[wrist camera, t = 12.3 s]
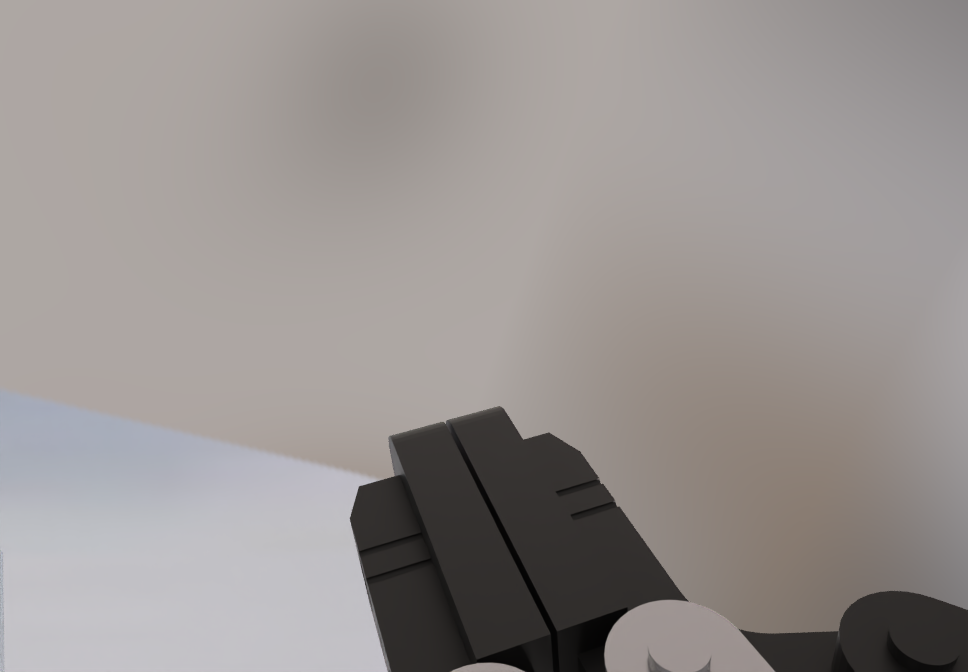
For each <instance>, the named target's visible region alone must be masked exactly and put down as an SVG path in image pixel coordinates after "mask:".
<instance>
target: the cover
mask: <svg viewBox="0 0 968 672" xmlns="http://www.w3.org/2000/svg"><path fill="white" fill-rule="evenodd" d="M0 672H4V616H3V553H2V551H1V549H0Z"/></svg>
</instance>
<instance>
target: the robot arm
mask: <svg viewBox="0 0 968 672" xmlns="http://www.w3.org/2000/svg"><path fill="white" fill-rule="evenodd" d="M389 447H390V453H391V458H392V463H393V469H394V473H395V476H394V477H391V478H387V479H384V480H380V481H377V482H373V483H370V484H366V485H363V486H359V489H358V492H357V496H356V499H355V503H354V506H353V510H352V513H351V517H350V522H351V526H352V530H353V534H354V539H355V543H356V547H357V551H358V556H359V560H360V564H361V568H362V573H363V577H364V581H365V585H366V589H367V594H368V598H369V602H370V606H371V610H372V614H373V617H374V621H375V625H376V629H377V633H378V636H379V640H380V644H381V648H382V651H383V655H384V659H385V663H386V666H387V670H388V672H968V610H966V609H963V608H960V607H957V606H955V605H951V604H949V603H946V602H943V601H940V600H937V599H934V598H931V597H927V596H924V595H921V594H915V593H910V592H901V591H900V592H899V591H887V592H879V593H874V594H870V595H867V596H865V597H863V598H860V599H859V600H857V601H856V602H854V603H853V604H851V606H850V607H849V608H848V609H847V610H846V611H845V613H844V615H843V617H842V619H841V622H840V628H839V631H837V632H808V633H780V634H767V633H766V634H765V633H755V632H748V631H744V630H740V629H737V628H736V627H735V626H734V625H733V624H732V623H731V622H730V621H728V620H727V619H726V618H724V617H723V616H722V615H720V614H719V613H717V612H715V611H713V610H711V609H709V608H707V607H704V606H701V605H699V604H695V603H691V602H689V601H688V600H687V599H686V598H685V597H684V596H683V595H682V593H681V592H680V591H679V589H678V588H677V587H676V585H675V584H674V582H673V581H672V580H671V578H670V577H669V575H668V574H667V573H666V571H665V570H664V568H663V567H662V566H661V564H660V563H659V561H658V560H657V559H656V557H655V556H654V555H653V553H652V552H651V550H650V549H649V547H648V546H647V545H646V543H645V542H644V540H643V539H642V538H641V536H640V535H639V533H638V532H637V531H636V529H635V528H634V526H633V525H632V524H631V522H630V521H629V520H628V518H627V517H626V515H625V514H624V512H623V511H622V510H621V508H620V507H617V506H616V503H615V500H614V498H613V497H612V496H611V494H610V493H609V491H608V490H607V489H606V487H605V486H604V484H601V483H600V480H599V477H598V476H597V475H596V473H595V472H594V470H593V469H592V468H591V466H590V465H589V463H588V462H587V461H586V459H585V458H584V456H583V455H582V454H581V452H580V451H578V450H576V449H575V448H573V447H572V446H570V445H568V444H567V443H565V442H563V441H562V440H560V439H559V438H557V437H555V436H554V435H552V434H550V433H546V434H542V435H539V436H535V437H532V438H529V439H524V440H523V439H522V437H521V436H520V434H519V433H518V431H517V429H516V428H515V426H514V424H513V423H512V421H511V420H510V418H509V416H508V415H507V413H506V412H505V410H504V409H503V408H502V407H500V406H498V407H495V408H491V409H487V410H483V411H480V412H476V413H472V414H469V415H465V416H461V417H458V418H454V419H450V420H447V421H446V424H445V423H444V422H440V423H436V424H433V425H429V426H425V427H422V428H418V429H414V430H410V431H407V432H403V433H399V434H396V435H392V436H389Z"/></svg>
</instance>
